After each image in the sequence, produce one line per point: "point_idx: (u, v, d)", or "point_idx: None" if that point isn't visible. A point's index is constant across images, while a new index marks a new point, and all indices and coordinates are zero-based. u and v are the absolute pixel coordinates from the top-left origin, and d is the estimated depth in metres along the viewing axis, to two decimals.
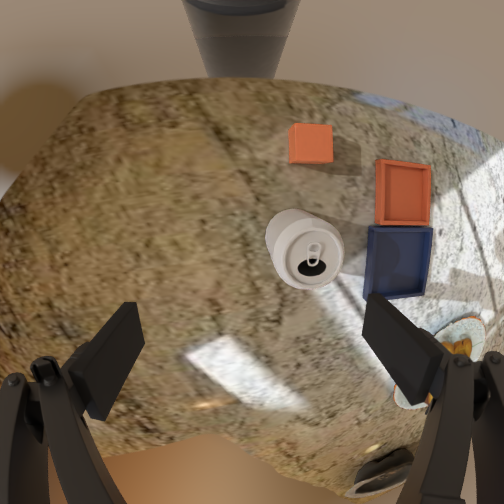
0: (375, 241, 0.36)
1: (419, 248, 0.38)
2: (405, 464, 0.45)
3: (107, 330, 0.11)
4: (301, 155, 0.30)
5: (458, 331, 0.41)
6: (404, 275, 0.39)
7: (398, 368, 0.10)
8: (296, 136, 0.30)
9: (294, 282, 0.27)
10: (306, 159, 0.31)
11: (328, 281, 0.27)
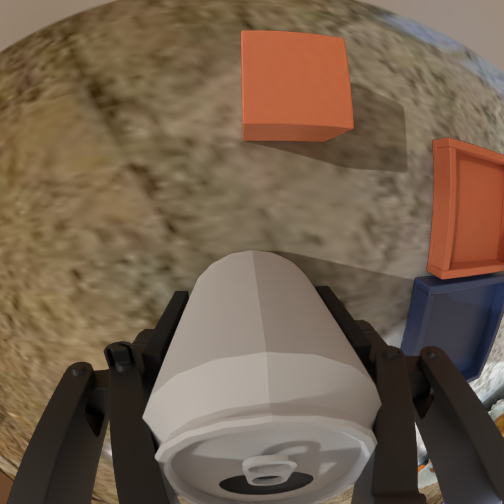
0: (428, 313, 0.16)
1: (487, 306, 0.18)
2: None
3: (169, 316, 0.13)
4: (259, 108, 0.10)
5: (503, 403, 0.21)
6: (457, 353, 0.19)
7: None
8: (245, 60, 0.09)
9: None
10: (275, 119, 0.10)
11: (315, 503, 0.06)
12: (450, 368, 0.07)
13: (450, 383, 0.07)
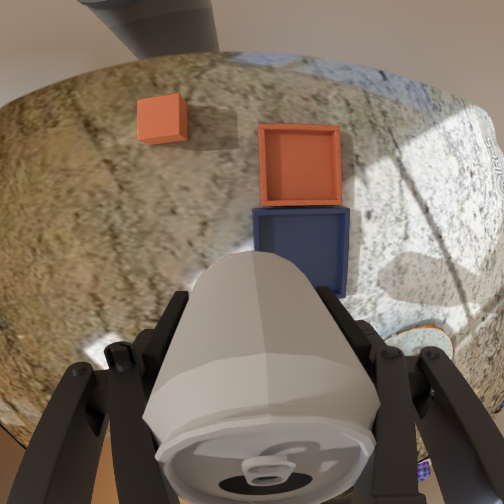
0: (256, 227, 0.31)
1: (334, 235, 0.33)
2: None
3: (169, 316, 0.13)
4: (143, 133, 0.25)
5: (410, 343, 0.36)
6: (313, 271, 0.34)
7: None
8: (138, 113, 0.24)
9: None
10: (148, 136, 0.25)
11: (314, 503, 0.06)
12: (449, 368, 0.07)
13: (450, 383, 0.07)
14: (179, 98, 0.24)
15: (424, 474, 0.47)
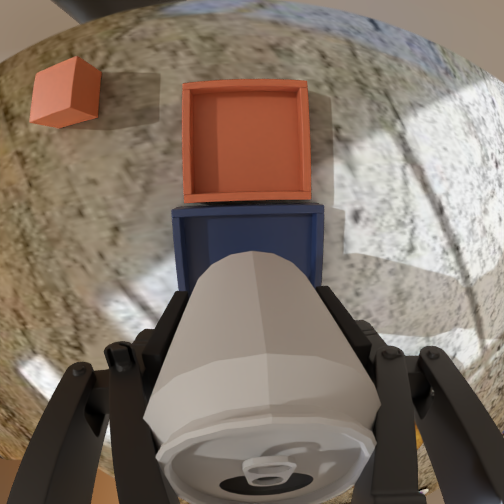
0: (177, 235, 0.20)
1: (301, 247, 0.22)
2: None
3: (169, 316, 0.13)
4: (35, 113, 0.14)
5: None
6: None
7: None
8: (34, 89, 0.14)
9: None
10: (39, 116, 0.14)
11: None
12: (449, 368, 0.07)
13: (450, 383, 0.07)
14: (77, 62, 0.14)
15: None
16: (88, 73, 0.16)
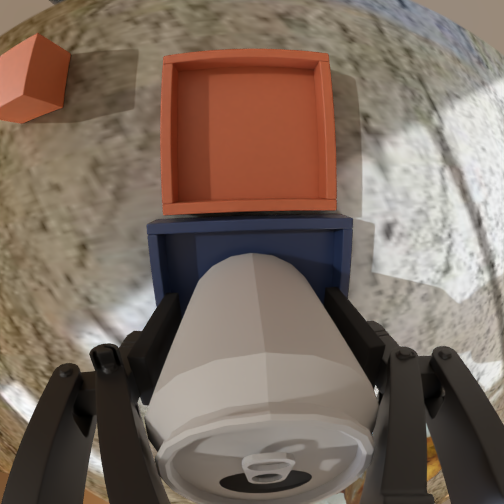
0: (155, 258, 0.15)
1: (320, 272, 0.17)
2: None
3: (157, 318, 0.12)
4: None
5: None
6: None
7: None
8: None
9: None
10: None
11: (313, 502, 0.06)
12: (461, 368, 0.07)
13: (461, 383, 0.07)
14: (37, 40, 0.08)
15: None
16: (52, 54, 0.10)
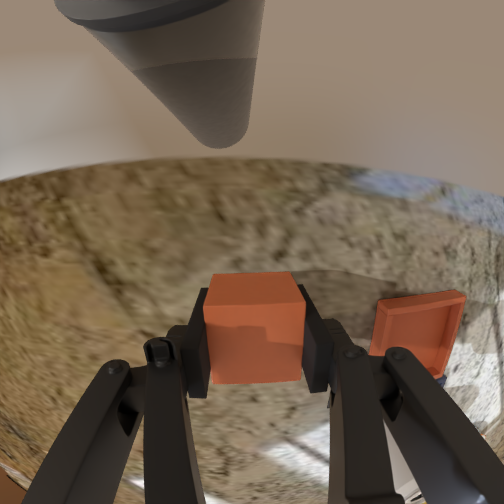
0: None
1: None
2: None
3: (200, 312, 0.13)
4: (224, 375, 0.13)
5: None
6: None
7: (304, 355, 0.12)
8: (209, 337, 0.12)
9: None
10: (236, 381, 0.13)
11: None
12: (418, 369, 0.08)
13: (420, 385, 0.07)
14: None
15: None
16: None
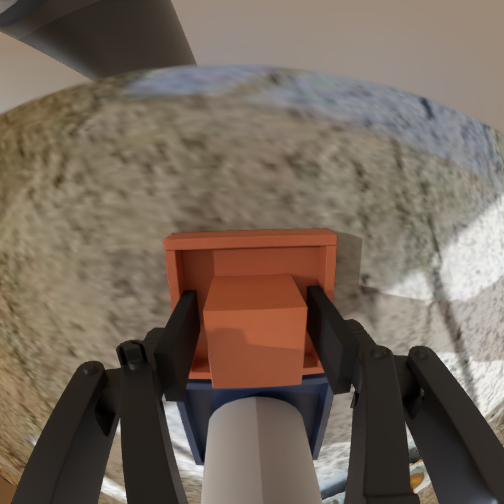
0: (180, 402, 0.17)
1: (309, 398, 0.19)
2: None
3: (179, 314, 0.13)
4: (224, 379, 0.13)
5: None
6: None
7: (325, 357, 0.12)
8: (209, 342, 0.12)
9: None
10: (236, 386, 0.13)
11: None
12: (439, 368, 0.08)
13: (440, 383, 0.07)
14: None
15: None
16: None
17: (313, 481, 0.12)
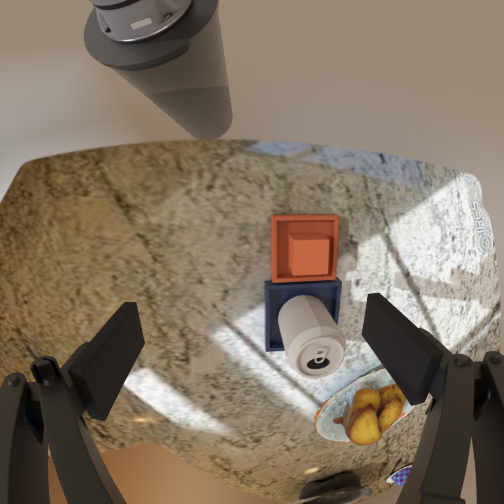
0: (268, 298, 0.39)
1: (328, 300, 0.41)
2: (343, 489, 0.48)
3: (107, 330, 0.11)
4: (298, 270, 0.35)
5: (387, 376, 0.44)
6: None
7: (398, 368, 0.10)
8: (295, 253, 0.34)
9: (303, 375, 0.31)
10: (303, 274, 0.35)
11: (330, 372, 0.31)
12: None
13: None
14: (328, 243, 0.34)
15: (406, 478, 0.56)
16: None
17: (336, 325, 0.34)
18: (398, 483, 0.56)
